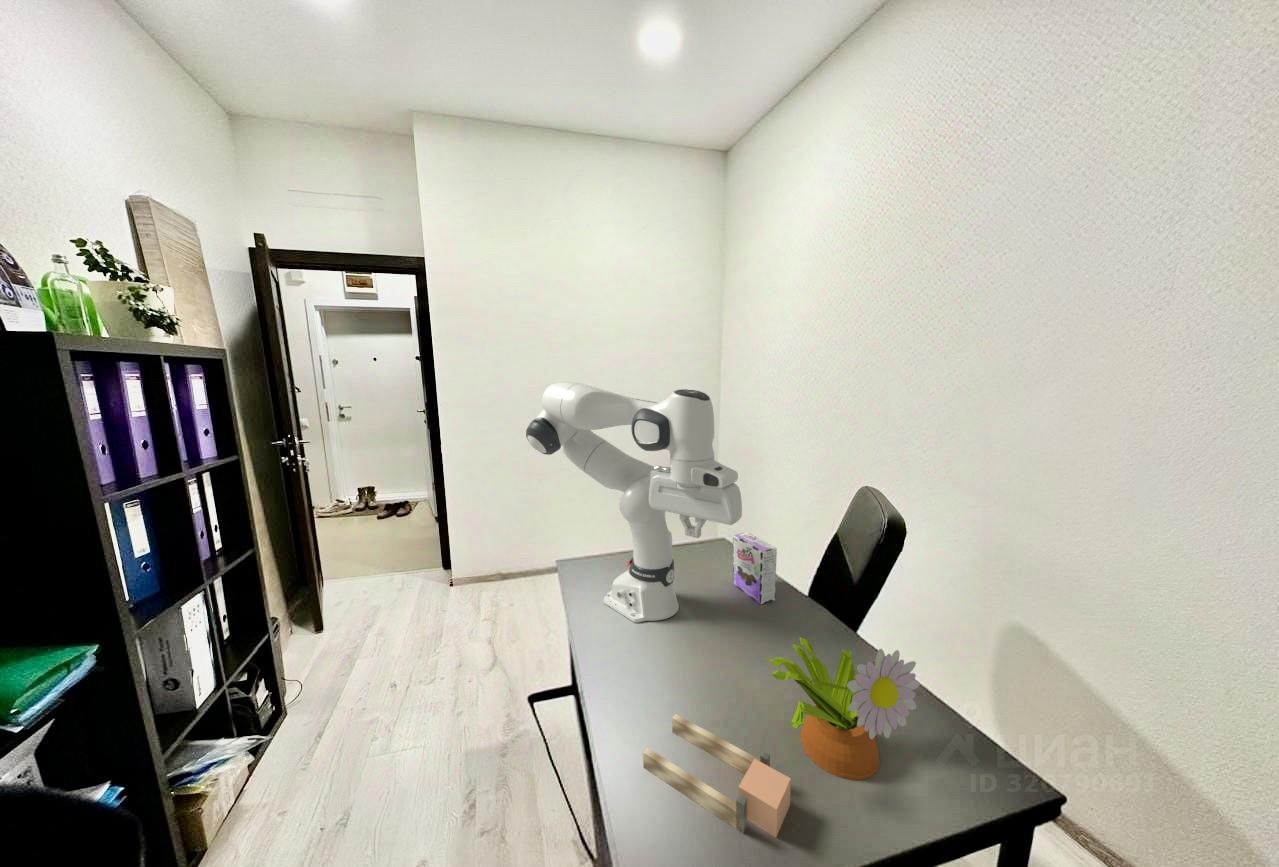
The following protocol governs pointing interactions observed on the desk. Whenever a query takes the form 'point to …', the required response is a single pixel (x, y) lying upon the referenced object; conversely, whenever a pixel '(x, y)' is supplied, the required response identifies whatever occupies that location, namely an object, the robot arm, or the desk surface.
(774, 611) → the desk surface
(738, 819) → the chute
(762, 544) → the candy box
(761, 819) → the block
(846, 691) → the decorative plant
